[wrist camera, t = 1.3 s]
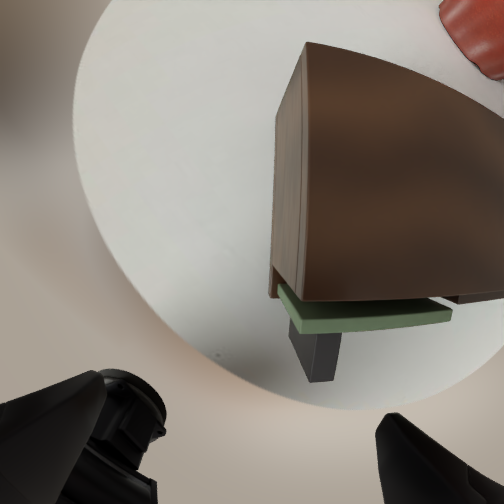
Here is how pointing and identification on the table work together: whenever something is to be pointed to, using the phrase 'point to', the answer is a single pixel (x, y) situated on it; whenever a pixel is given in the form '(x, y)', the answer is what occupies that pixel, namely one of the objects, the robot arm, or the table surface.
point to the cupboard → (384, 185)
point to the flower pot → (477, 32)
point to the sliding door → (347, 325)
